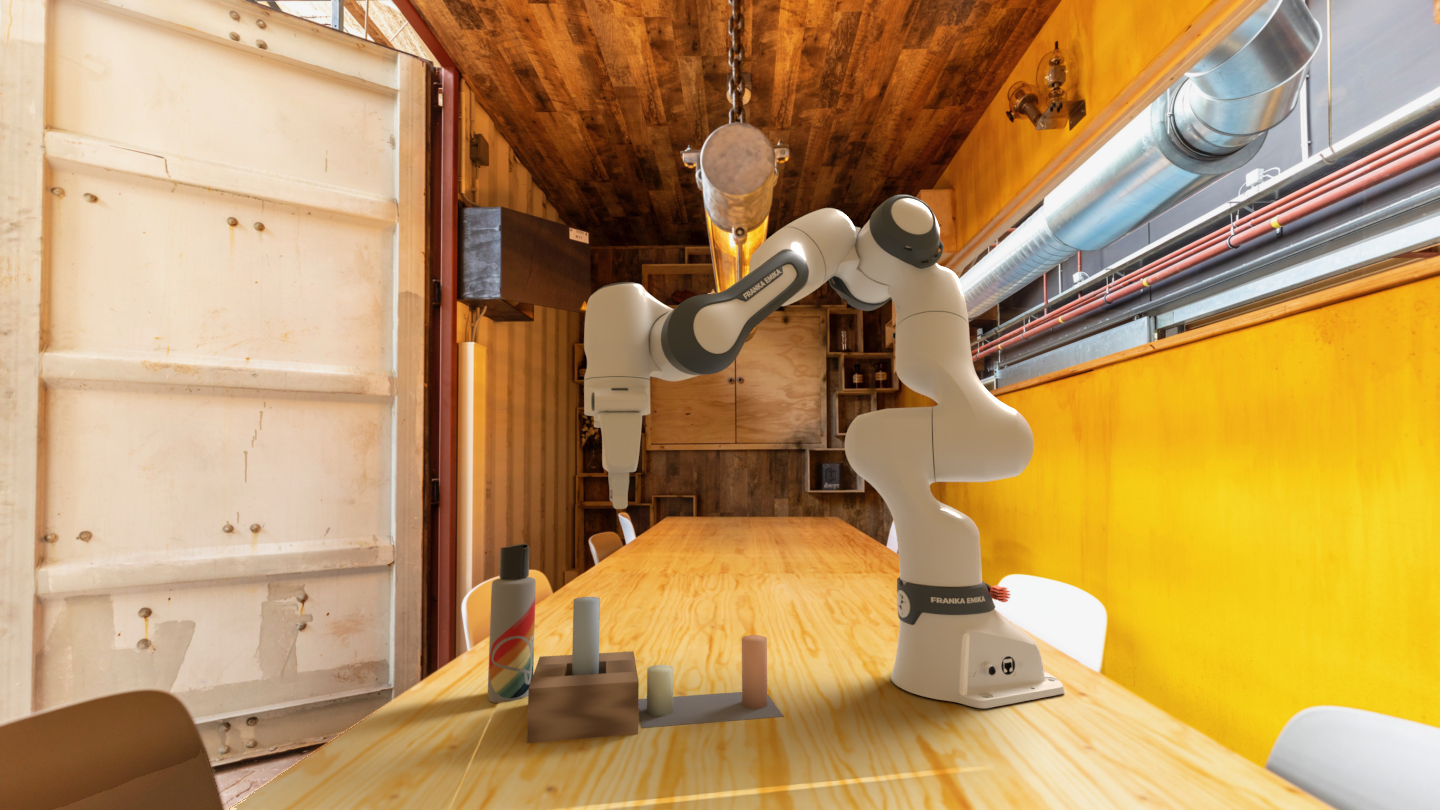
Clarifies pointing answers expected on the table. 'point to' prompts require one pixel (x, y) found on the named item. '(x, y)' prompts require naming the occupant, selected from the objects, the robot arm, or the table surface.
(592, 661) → the pin long
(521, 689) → the lotion bottle
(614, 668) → the socket block
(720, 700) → the mat
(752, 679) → the pin medium
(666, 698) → the pin short
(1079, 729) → the table surface
